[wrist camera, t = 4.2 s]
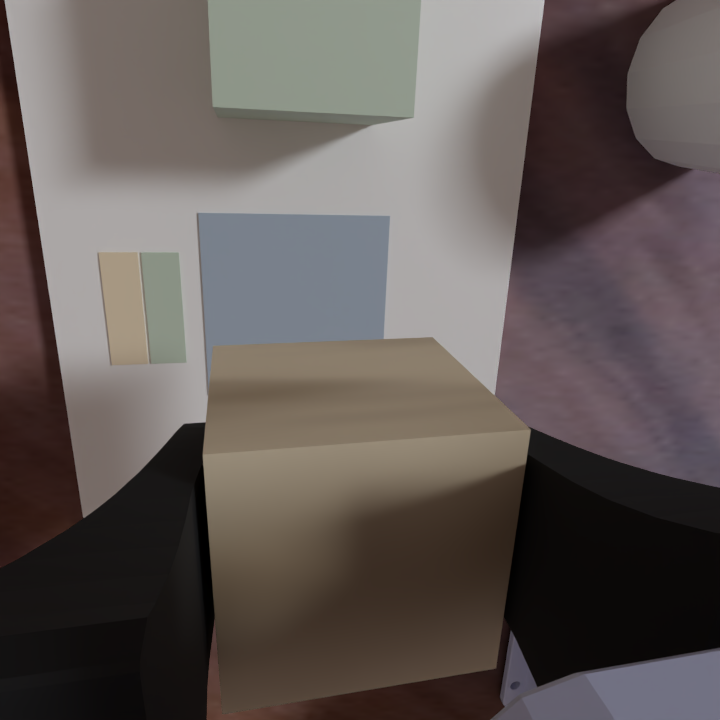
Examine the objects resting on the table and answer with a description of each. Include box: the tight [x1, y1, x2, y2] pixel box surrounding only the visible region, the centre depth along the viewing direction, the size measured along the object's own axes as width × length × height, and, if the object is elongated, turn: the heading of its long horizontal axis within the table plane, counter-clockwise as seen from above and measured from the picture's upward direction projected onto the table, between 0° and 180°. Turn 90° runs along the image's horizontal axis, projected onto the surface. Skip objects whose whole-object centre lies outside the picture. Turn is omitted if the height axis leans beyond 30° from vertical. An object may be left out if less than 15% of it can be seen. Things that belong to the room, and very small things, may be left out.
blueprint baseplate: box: [5, 0, 544, 518], centre depth 19 cm, size 24×15×1 cm, turn 178°
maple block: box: [203, 337, 531, 714], centre depth 11 cm, size 5×5×4 cm
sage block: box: [208, 0, 421, 125], centre depth 14 cm, size 5×5×4 cm
